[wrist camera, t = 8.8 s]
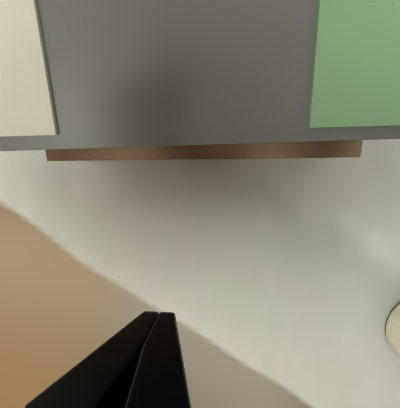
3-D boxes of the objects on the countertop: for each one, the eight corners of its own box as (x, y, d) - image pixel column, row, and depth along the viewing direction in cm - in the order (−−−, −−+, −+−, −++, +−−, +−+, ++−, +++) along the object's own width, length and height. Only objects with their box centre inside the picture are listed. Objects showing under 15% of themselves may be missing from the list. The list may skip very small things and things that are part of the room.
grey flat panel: (413, -53, 11) (469, -95, 9) (384, 135, 13) (424, 138, 11) (-82, -57, 10) (-155, -107, 8) (-31, 148, 12) (-78, 153, 10)
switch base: (349, -25, 15) (417, -109, 9) (331, 149, 17) (376, 161, 12) (62, -2, 16) (-18, -62, 11) (84, 152, 19) (26, 165, 14)
